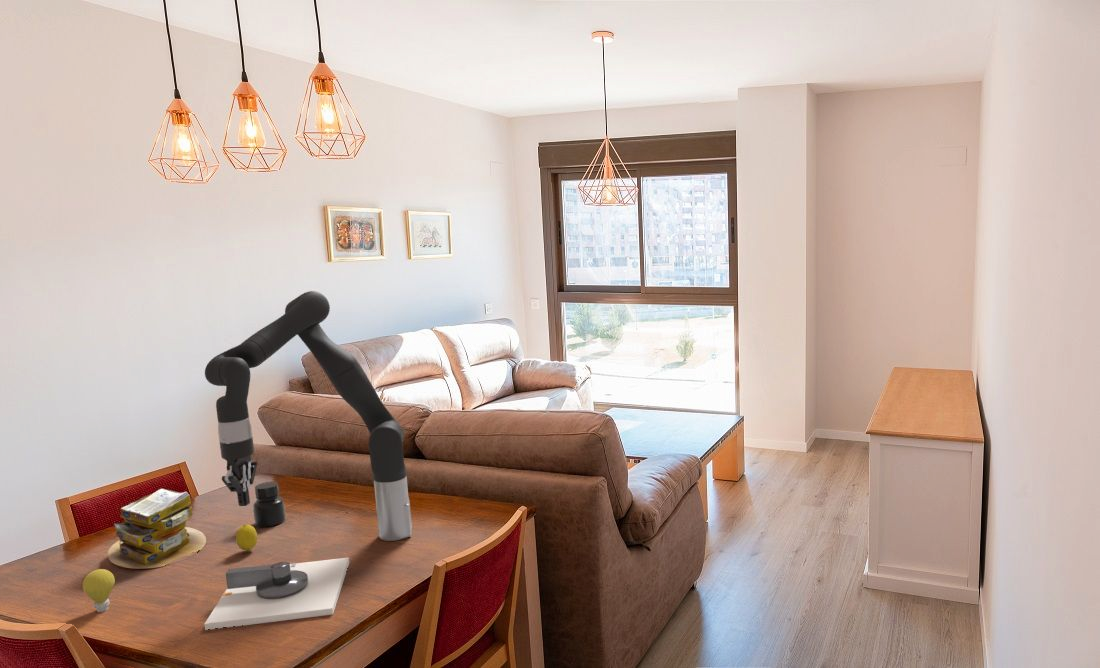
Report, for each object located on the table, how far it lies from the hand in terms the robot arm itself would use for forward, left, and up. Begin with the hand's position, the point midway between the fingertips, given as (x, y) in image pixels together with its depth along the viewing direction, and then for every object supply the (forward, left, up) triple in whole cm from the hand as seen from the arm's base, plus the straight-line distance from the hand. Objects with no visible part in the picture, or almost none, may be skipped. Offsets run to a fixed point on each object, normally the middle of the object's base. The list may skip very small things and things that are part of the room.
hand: (244, 504), depth 184 cm
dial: (-5, +6, -20) cm, 21 cm away
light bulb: (+35, +3, -22) cm, 41 cm away
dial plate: (-8, +6, -21) cm, 24 cm away
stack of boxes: (+34, -31, -22) cm, 51 cm away
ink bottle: (+7, -46, -22) cm, 51 cm away
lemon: (+8, -24, -22) cm, 33 cm away
